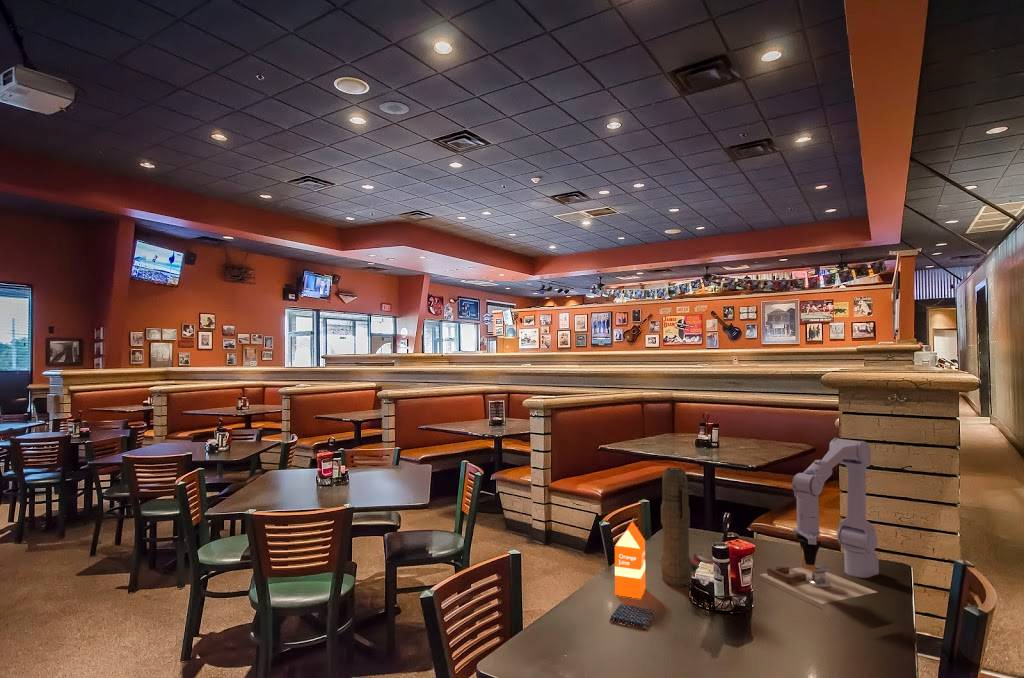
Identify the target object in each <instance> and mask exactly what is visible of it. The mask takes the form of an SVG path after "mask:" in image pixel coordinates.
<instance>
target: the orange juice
mask: <svg viewBox="0 0 1024 678" xmlns="http://www.w3.org/2000/svg"><path fill="white" fill-rule="evenodd" d="M614 586H615V587H614V591H615V593H614V596H615V595H619V596H618V597H620V596H626V597H632V598H631V599H633V598H639V599H641V600H642V598H643V596H644V593H645V591H644V590H646V589H645V588H646V539H645V538H644V537H643V535H642V533H641V532H640V530H639V529H638V527H637V525H636V524H635V523H634V521H633V520H632V521H631V522H630V524H629V526H627V528H626V530H625V531H624V533H623V534H622V536H620V537H619V539H618V540H617V542H616V544H615V545H614ZM642 595H643V596H642ZM626 597H625V598H626ZM641 597H642V598H641ZM639 599H638V600H639Z"/></svg>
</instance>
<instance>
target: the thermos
mask: <svg viewBox="0 0 1024 678" xmlns="http://www.w3.org/2000/svg"><path fill="white" fill-rule="evenodd" d="M685 471H686V470H684V469H683V468H680V467H676V466H674V467H667V468H665V469H664V472H663V474H662V476H661V477H662V484H661V499H662V500H661V505H660V524H661V526H662V555H661V565H660V566H661V570H660V571H661V573H662V575H661V576H662V577H661V580H663V581H664V582H665V583H664V582H663V581H662V582H663V583H664V584H666V583H667V584H666V585H669V584H670V585H669V586H672V585H674V587H684V586H683V585H687V584H689V583H690V580H691V575H692V570H691V560H690V559H691V558H690V546H689V545H690V543H689V542H690V541H689V540H690V538H689V536H690V535H689V530H690V527H691V508H690V506H689V505H690V502H689V501H690V500H689V497H690V496H689V495H690V494H689V488H688V477H687V474H686V472H685ZM690 584H691V583H690ZM690 584H689V585H690ZM687 586H688V585H687Z"/></svg>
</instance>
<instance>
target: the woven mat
mask: <svg viewBox="0 0 1024 678" xmlns="http://www.w3.org/2000/svg"><path fill="white" fill-rule="evenodd" d="M655 617H656V615H655V610H653V609H651V608H649V609H648V608H645V607H640V606H635V605H629V604H628V603H625V604H624V603H623V602H622V603H620V604H618V605H617V607H616V608H615V610H614V611H613V613H612V614H611V615H610V619H608V621H609V622H610V621H613V619H614V621H613V624H616V623H618V621H620V622H619V623H621V622H622V624H625V625H631V626H634V627H635V626H636V625H637V627H638V628H637V629H639V628H641V629H640V630H643V629H644V631H645V630H646V631H647V630H648V628H649V626H650V625H651V623H653V622H652V621H653V620H654V618H655ZM615 622H616V623H615ZM631 623H632V624H631ZM633 624H634V625H633ZM625 625H624V626H625ZM634 627H633V628H634Z"/></svg>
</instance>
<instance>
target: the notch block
mask: <svg viewBox="0 0 1024 678" xmlns="http://www.w3.org/2000/svg"><path fill="white" fill-rule="evenodd" d="M789 569H790V566H788V565H780V566H774V567H767V568H766V571H767V575H769V576H771V577H773V578H775V579H777V580H780V581H782V582H784V583H786V584H792V583H797V582H802V581H806V574H805V573H796V574H791V575H786V574H788V573H789Z"/></svg>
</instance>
